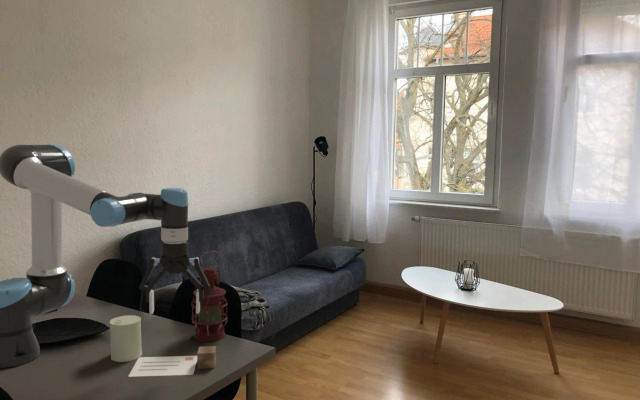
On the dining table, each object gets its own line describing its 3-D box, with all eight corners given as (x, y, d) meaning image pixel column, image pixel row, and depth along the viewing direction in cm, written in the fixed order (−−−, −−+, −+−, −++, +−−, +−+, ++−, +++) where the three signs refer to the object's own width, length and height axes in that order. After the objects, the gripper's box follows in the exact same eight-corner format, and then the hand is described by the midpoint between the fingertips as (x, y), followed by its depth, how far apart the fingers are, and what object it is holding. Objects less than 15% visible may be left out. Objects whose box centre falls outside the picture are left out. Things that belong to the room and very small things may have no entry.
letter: (128, 377, 142) (128, 376, 142) (138, 357, 155) (138, 357, 155) (193, 375, 144) (193, 374, 144) (198, 356, 157) (198, 355, 157)
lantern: (212, 327, 182) (212, 246, 179) (234, 335, 174) (235, 251, 171) (184, 336, 173) (184, 251, 169) (206, 346, 165) (206, 257, 162)
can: (104, 358, 154) (102, 320, 152) (128, 347, 162) (126, 311, 160) (125, 364, 149) (123, 325, 148) (148, 353, 157) (147, 316, 156)
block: (197, 369, 148) (197, 353, 147) (199, 362, 153) (199, 346, 152) (214, 369, 149) (214, 353, 148) (215, 361, 154) (215, 346, 153)
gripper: (127, 243, 140) (128, 317, 143) (216, 244, 143) (216, 315, 146) (133, 238, 148) (134, 308, 150) (218, 239, 151) (218, 307, 153)
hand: (175, 312), depth 148 cm, fingers open, 13 cm apart
